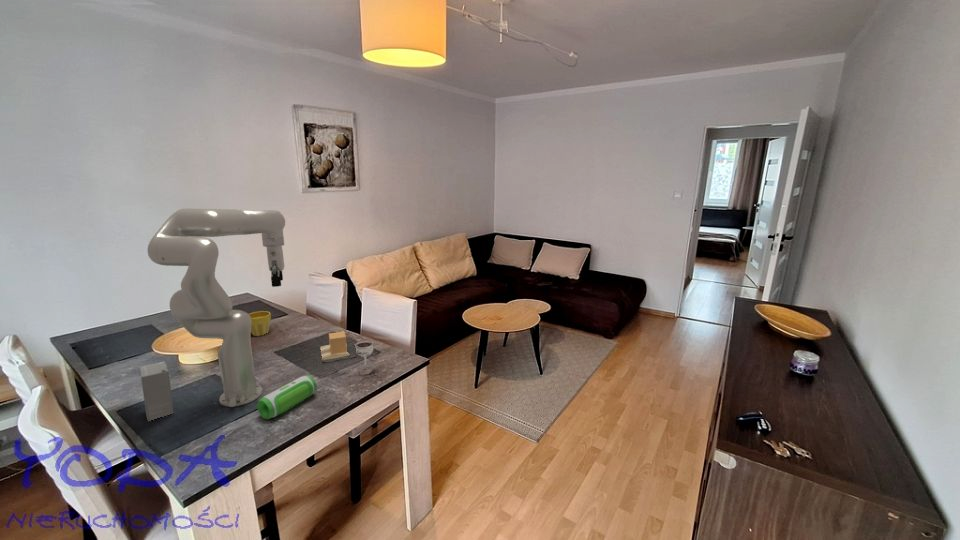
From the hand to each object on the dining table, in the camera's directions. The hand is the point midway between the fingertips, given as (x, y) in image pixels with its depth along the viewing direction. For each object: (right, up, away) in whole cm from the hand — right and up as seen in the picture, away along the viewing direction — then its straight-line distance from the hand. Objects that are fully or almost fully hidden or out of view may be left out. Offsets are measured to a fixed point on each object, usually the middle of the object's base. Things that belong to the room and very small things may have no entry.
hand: (277, 283), depth 151 cm
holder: (+21, -31, +11) cm, 39 cm away
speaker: (+19, -41, -27) cm, 52 cm away
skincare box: (-20, -41, -32) cm, 55 cm away
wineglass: (+37, -35, -4) cm, 51 cm away
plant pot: (-24, -26, +29) cm, 46 cm away
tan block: (+21, -30, +10) cm, 38 cm away
